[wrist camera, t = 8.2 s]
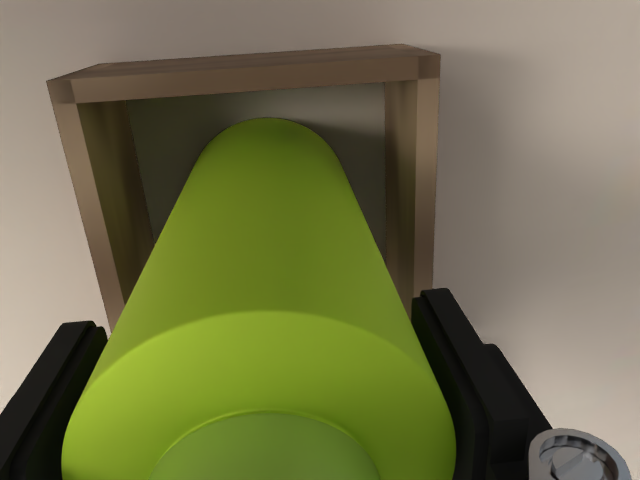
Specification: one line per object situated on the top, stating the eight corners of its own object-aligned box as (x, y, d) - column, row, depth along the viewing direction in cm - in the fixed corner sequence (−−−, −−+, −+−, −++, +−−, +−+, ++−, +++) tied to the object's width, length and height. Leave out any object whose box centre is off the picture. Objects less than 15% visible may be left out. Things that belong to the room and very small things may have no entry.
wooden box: (99, 63, 17) (45, 81, 13) (401, 43, 18) (440, 54, 14) (159, 344, 22) (134, 420, 18) (400, 321, 23) (428, 390, 18)
